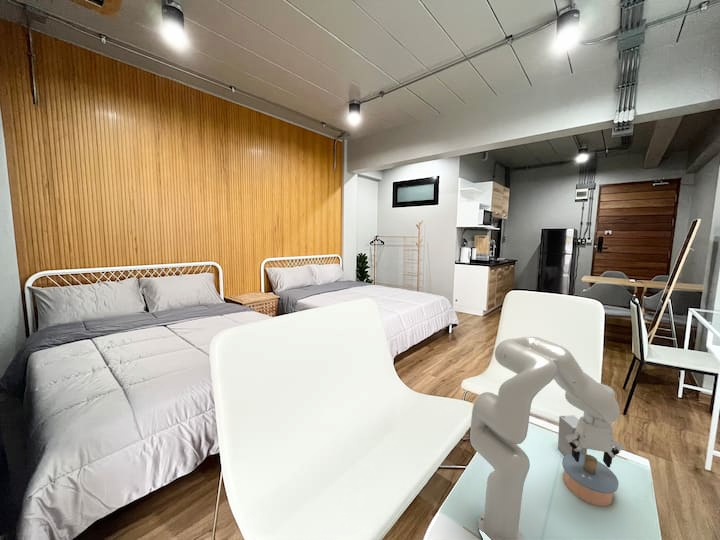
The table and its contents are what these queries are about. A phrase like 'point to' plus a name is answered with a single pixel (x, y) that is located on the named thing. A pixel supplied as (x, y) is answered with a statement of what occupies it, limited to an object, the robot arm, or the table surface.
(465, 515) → the table surface
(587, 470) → the lid
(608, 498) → the bowl
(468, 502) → the table surface
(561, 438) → the skincare box
